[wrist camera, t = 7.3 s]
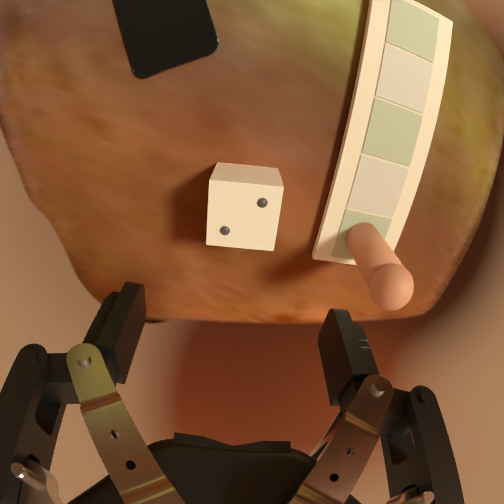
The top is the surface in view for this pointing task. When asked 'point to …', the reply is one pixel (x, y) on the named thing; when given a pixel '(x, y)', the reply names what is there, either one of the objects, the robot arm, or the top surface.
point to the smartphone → (165, 33)
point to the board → (387, 124)
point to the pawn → (379, 267)
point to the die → (244, 206)
